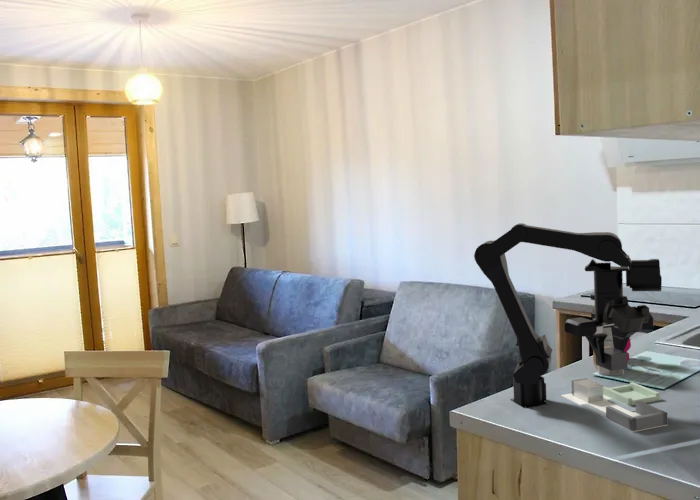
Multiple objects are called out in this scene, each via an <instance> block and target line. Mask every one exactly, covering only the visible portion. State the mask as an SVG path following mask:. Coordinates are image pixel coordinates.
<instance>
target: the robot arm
mask: <svg viewBox="0 0 700 500" xmlns="http://www.w3.org/2000/svg"><path fill="white" fill-rule="evenodd" d="M520 243H526V244H531V245H532V244H533V245H538V246H544V247H550V248H557V249H562V250H569V251H574V252H577V253H580V254H582V255H585V256H588V257H590V258H591V260H590V261H589V263H588V264H586V265H585V266H584V271H585V272H593V287H594V289H593V290H594V291H593V292H594V293H593V294H591V295H590V300H592V301H594V309H595V313H593V312H591V313H590V318H591V319H592V320H591V319H588V318H586V317H585V318H584V317H581V316H580V317H573V318H567V319H566V321H565V323H564V332H566V333H568V334H571V335H575V336H577V337H582V338H583V337H585V338H586V340H587V341H588V343H589V344H590V347H591V349H592V351H594V353H595V355H596V357H597V359H598V361H599V362H600V363H604V340H605V339H606V337H607V336H608V335H607V334H604V333H603V328H607V327H611V331H612V338H613V345H614V348H615V349H618V350H621V351H624V350H625V348H626V345H627V342H628V340H629V338H630V339H631V337H632V336H633V335H634V334H637V333H639V332H640V331H641V330H642V328H643V329H645V328H652V327H654V320H655V319H654V317H653V315H652V314H651V313H650V307H649V306H647V305H645V304H642V305H637V306H631V305H629V299H628V296H625V295H624V293H623V292H624V286H623V285H624V284H623V282H624V279H623V278H624V277H623V272H625V285H626V287H629V289H631V291H632V292H662V283H663V282H662V281H663V280H662V275H661V267H660V259H659V258H651V259H632V258H631V257H630V255H629V254H627V252H626V251H625V250H624V249H623V243H622V240H621V239H620V238H619V236H618V235H617V234H616V233H613V232H611V231H610V232H609V231H606V232H605V231H603V232H600V231H599V232H597V231H595V232H592V231H591V232H574V231H573V232H572V231H567V230H560V229H555V228H554V229H552V228H546V227H539V226H534V225H528V224H526V223H516V224H514V226H512V227H511V228H510V230H509V231H507V232H506V233H504V234H503V235H501V236H500V237H498V238H496V239H495V240H488V241H487V240H486V241H485V242H484V243H481V244H480V245H479V246H477V248H476V249H475V250H474V254H473V257H474V261H475V263H476V265H477V266H478V267H479V269H480V271H481V272H482V274H483V275H484V276H485V277H486V278H487V279H488V280H489V281H490V283H491V285H492V286H493V288H494V290H495V292H496V294H497V297H498V299H499V301H500V303H501V306H502V308H503V310H504V312H505V314H506V317H507V319H508V322H509V323H510V324H509V325H510V326H511V328H512V330H513V333H514V334H515V337H516V339H517V345H518V346H517V347H518V351H519V357H520V361H519V362H518V363H517V365H516V367H515V370H514V371H513V374H512V376H513V377H512V380H513V381H512V382H513V383H512V384H513V398H510V401H511V402H513V403H514V404H516V405H518V406H520V407H521V408H522V409H529V408H534V407H535V408H537V407H541V406H546V405H550V403H549V402H547V382H546V383H545V377H544V376H542V375H544V374H546V373H547V372H548V371H549V370H548V369H549V368H550V365H551V362H552V352H553V349H552V348H551V346H550V345H549V343H548V340H547V337H546V335H545V334H543V335H541V336H539V334H537V332H536V331H535V329H534V327H533V326H532V323H531V322H530V319H529V317H528V315H527V312H526V310H525V308H524V306H523V303H522V301H521V299H520V297H519V294H518V292H517V290H516V288H515V286H514V284H513V281H512V279H511V277H510V275H509V269H508V268H509V266H508V262H507V257H506V253H507V252H509V251H510V250H511V249H513V248H515V247H516V246H517V245H519V244H520ZM596 260H599V261H602V262H597V261H596ZM611 262H612V263H614V264H615V265H617V266H612V265H611V264H612V263H611ZM593 318H594V319H595V320H593ZM602 323H606V324H602Z"/></svg>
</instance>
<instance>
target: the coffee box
mask: <svg viewBox="0 0 700 500" xmlns="http://www.w3.org/2000/svg"><path fill="white" fill-rule="evenodd" d="M591 313H595V308H592V312H591ZM592 320H595V319H594V318H592ZM602 324H606V323H602ZM603 333H604V334H607V335H608V336H607V337H606V339H605V340H604V347H606V346H610V347H612V348H614V345H613V338H612V331H611V327H607V328H603ZM593 366H594V367H595V369H596V371H597V373H598V375H603V376H604V375H605V376H606V375H609V376H611V375H613V376H614V375H617V376H618V375H625V369H621V370H615V371H610V370H608V369H605V368H603V367H600V366H598V365H595V364H594V363H593Z"/></svg>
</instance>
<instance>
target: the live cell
mask: <svg viewBox="0 0 700 500" xmlns="http://www.w3.org/2000/svg"><path fill="white" fill-rule="evenodd" d="M592 351H593V350H592ZM627 352H628V351H627ZM627 352H624V351H621V350H618V349H615V348H612V347H610V346H606V347H604V363H600V362H599V361H598V359H597V357H596V355H595V353H594V351H593V352H592V353H593V355H592V356H593V361H592V362H593V365H594V364H595V365H598V366H600V367H603V368H605V369H608V370H610V371H615V370H621V369H624V370H625V369H626V370H627V369H628V361H627Z"/></svg>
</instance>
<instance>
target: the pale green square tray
mask: <svg viewBox="0 0 700 500" xmlns="http://www.w3.org/2000/svg"><path fill="white" fill-rule="evenodd" d="M660 394H661V393H660V392H658V391H655V390H653V389H652V388H648V387H646V386H643V385H640V384H638V383H636V382H629V384H625V385H619V386H614V387H608V386H603V395H604V396H607V397H609V398H611V399H615V400H617V401H619V402H621V403H624V404H626V405H628V406H630V407H632V406H636V401H642V402H644V403H646V404H648V403H651V402H652V403H653V402H658V401H662V399H661V398H660V396H661V395H660Z"/></svg>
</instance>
